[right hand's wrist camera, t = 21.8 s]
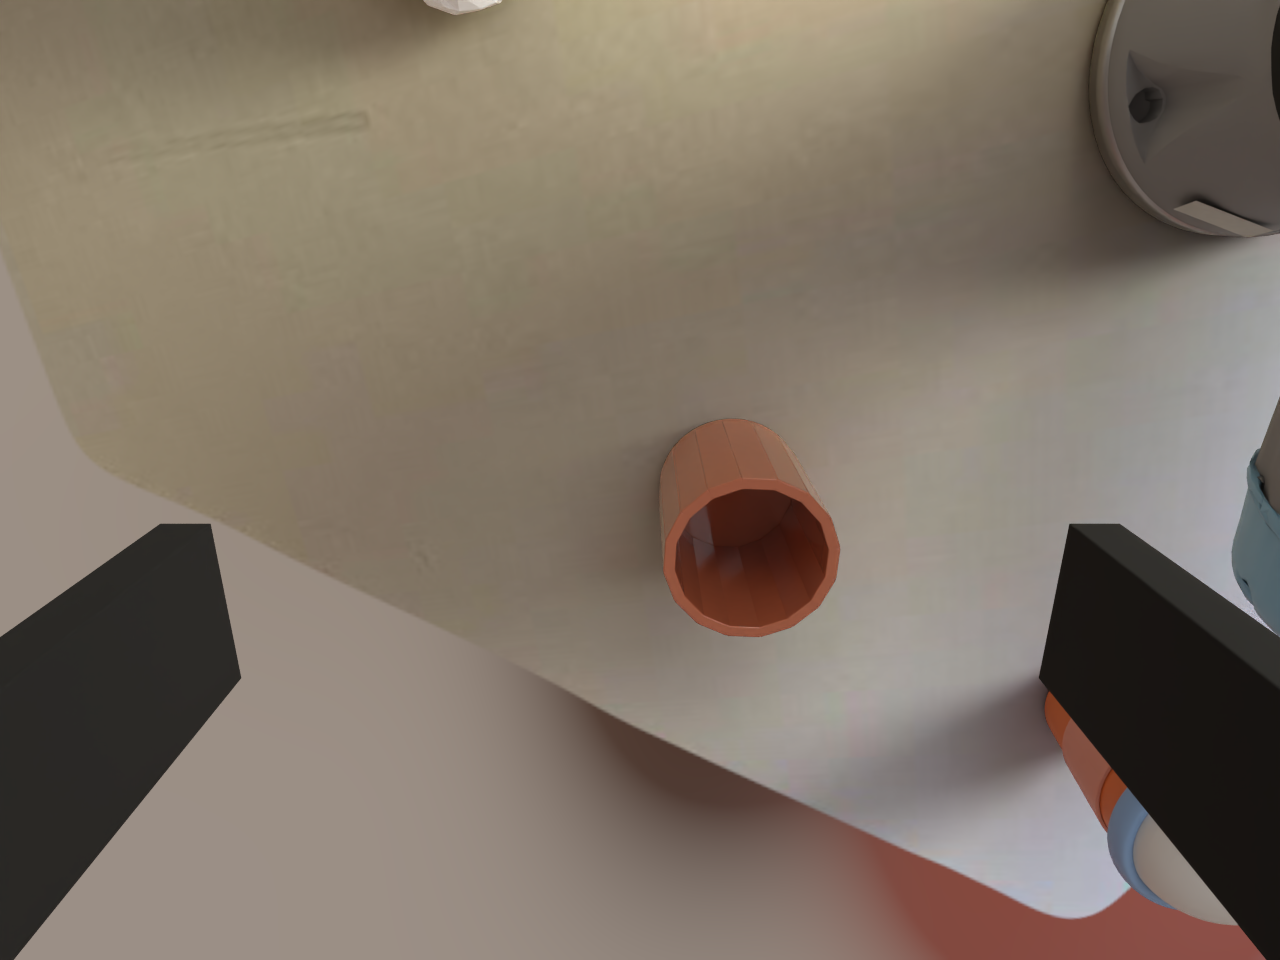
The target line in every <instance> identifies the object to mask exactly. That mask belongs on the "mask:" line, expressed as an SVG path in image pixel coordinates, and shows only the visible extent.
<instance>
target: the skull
mask: <svg viewBox="0 0 1280 960" xmlns="http://www.w3.org/2000/svg"><path fill="white" fill-rule="evenodd" d="M423 1H424V2H425V3H426V4H427V5H428V6H431V7H434V8H436V9H439V10H442V11H445V12H447V13H450V14H453V15H459V14H464V13H470V12H475V11H480V10H482V9H485V8H488V7H491V6H494V5H496V4H499V3H501V1H502V0H423Z"/></svg>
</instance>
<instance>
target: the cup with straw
mask: <svg viewBox="0 0 1280 960" xmlns="http://www.w3.org/2000/svg"><path fill="white" fill-rule="evenodd" d="M1045 717H1046V721H1047V723H1048V726H1049V728H1050V730H1051V731H1052V733H1053V735H1054V737H1055V738H1056V740H1057V742H1058V744H1059V745H1060V747H1061V749H1062V750H1063V756H1064V759H1065V762H1066V764H1067V766H1068V768H1069V769H1070V771H1071V773H1072V775H1073V776H1074V778H1075V780H1076V782H1077V783H1078V785H1079V787H1080V789H1081V790H1082V792H1083V794H1084V796H1085V797H1086V799H1087V801H1088V803H1089V804H1090V806H1091V808H1092V810H1093V811H1094V813H1095V815H1096V816H1097V818H1098V820H1099V822H1100V823H1101V825H1102V827H1103V828H1104V829H1105V831H1106V832H1107V840H1108V848H1109V852H1110V855H1111V858H1112V860H1113V863H1114V865H1115V867H1116V868H1117V870H1118V872H1119V873H1120V874H1121V876H1122V877H1123V878H1124V880H1125V881H1126V882H1127V883H1128V884H1129V885H1130V886H1131V887H1132V888H1133V889H1134V890H1136V891H1137V892H1138V893H1139V894H1141V895H1142V896H1144V897H1145V898H1147V899H1148V900H1150V901H1152V902H1154V903H1156V904H1159V905H1162V906H1164V907H1167V908H1171V909H1176V910H1180V911H1181V912H1184V913H1186V914H1188V915H1190V916H1193V917H1195V918H1198V919H1201V920H1204V921H1208V922H1213V923H1218V924H1226V925H1238V924H1237V923H1236V922H1235V920H1234V919H1233V918H1232V917H1231V915H1230V914H1229V913H1228V912H1227V910H1226V909H1225V908H1224V907H1223V905H1222V904H1221V903H1220V902H1219V900H1218V899H1217V898H1216V897H1215V896H1214V894H1213V893H1212V892H1211V891H1210V889H1209V888H1208V887H1207V886H1206V884H1205V883H1204V882H1203V881H1202V879H1201V878H1200V877H1199V876H1198V874H1197V873H1196V872H1195V871H1194V870H1193V868H1192V867H1191V866H1190V865H1189V863H1188V862H1187V861H1186V860H1185V858H1184V857H1183V856H1182V855H1181V853H1180V852H1179V851H1178V850H1177V848H1176V847H1175V846H1174V845H1173V844H1172V842H1171V841H1170V840H1169V839H1168V837H1167V836H1166V835H1165V834H1164V832H1163V831H1162V830H1161V829H1160V827H1159V826H1158V825H1157V824H1156V822H1155V821H1154V820H1153V819H1152V818H1151V816H1150V815H1149V814H1148V813H1147V811H1146V810H1145V809H1144V808H1143V806H1142V805H1141V804H1140V803H1139V801H1138V800H1137V799H1136V798H1135V796H1134V795H1133V794H1132V793H1131V792H1130V790H1129V789H1128V788H1127V787H1126V785H1125V784H1124V783H1123V782H1122V780H1121V779H1120V778H1119V777H1118V775H1117V774H1116V773H1115V772H1114V770H1113V769H1112V768H1111V767H1110V766H1109V764H1108V763H1107V762H1106V761H1105V759H1104V758H1103V757H1102V756H1101V754H1100V753H1099V752H1098V751H1097V749H1096V748H1095V747H1094V746H1093V744H1092V743H1091V742H1090V741H1089V740H1088V738H1087V737H1086V736H1085V735H1084V733H1083V732H1082V731H1081V730H1080V728H1079V727H1078V726H1077V725H1076V723H1075V722H1074V721H1073V720H1072V718H1071V717H1070V716H1069V715H1068V714H1067V712H1066V711H1065V710H1064V709H1063V707H1062V706H1061V705H1060V704H1059V702H1058V701H1057V700H1056V699H1055V697H1054V696H1053V695H1052V694H1051V693H1050V691H1049V692H1048V695H1047V698H1046V701H1045Z"/></svg>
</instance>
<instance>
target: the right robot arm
mask: <svg viewBox="0 0 1280 960" xmlns="http://www.w3.org/2000/svg"><path fill="white" fill-rule="evenodd" d="M1089 104H1090V113H1091V121H1092V126H1093V130H1094V135H1095V138H1096V142H1097V145H1098V148H1099V151H1100V153H1101V155H1102V158H1103V160H1104V162H1105V164H1106V167H1107V168H1108V170H1109V172H1110V173H1111V175H1112V177H1113V178H1114V180H1115V181H1116V183H1117V184H1118V185H1119V187H1120V188H1121V189H1122V190H1123V192H1124V193H1125V194H1126V195H1127V196H1128V197H1129V198H1130V199H1131V200H1132V201H1133V202H1134V203H1135V204H1136V205H1138V206H1139V207H1140V208H1141V209H1143V210H1144V211H1145V212H1147V213H1148V214H1150V215H1151V216H1153V217H1155V218H1156V219H1158V220H1160V221H1162V222H1164V223H1166V224H1168V225H1171V226H1173V227H1176V228H1179V229H1182V230H1185V231H1190V232H1195V233H1199V234H1208V235H1219V236H1230V237H1247V238H1249V237H1258V236H1267V235H1273V234H1278V233H1280V0H1108V2H1107V4H1106V6H1105V9H1104V12H1103V15H1102V18H1101V21H1100V24H1099V27H1098V30H1097V34H1096V38H1095V42H1094V47H1093V53H1092V59H1091V65H1090V77H1089ZM1247 482H1248V490H1247V494H1246V498H1245V502H1244V506H1243V510H1242V513H1241V517H1240V521H1239V524H1238V527H1237V531H1236V534H1235V537H1234V541H1233V546H1232V567H1233V571H1234V576H1235V578H1236V581H1237V583H1238V584H1239V586H1240V588H1241V590H1242V592H1243V594H1244V595H1245V597H1246V598H1247V600H1248V601H1249V602H1250V603H1251V604H1252V605H1253V606H1254V609H1255V611H1256V612H1257V614H1258V616H1259V617H1260V618H1261V619H1262V620H1263V621H1264V622H1265V623H1266V624H1267V626H1268V627H1269V628H1270V629H1271V630H1272V631H1273V632H1274V633H1273V632H1272V631H1270V630H1269V629H1267V628H1266V627H1265V626H1263V625H1262V624H1260V623H1259V622H1258V621H1256V620H1255V619H1253V618H1252V617H1251V616H1249V615H1248V614H1246V613H1245V612H1243V611H1242V610H1241V609H1239V608H1238V607H1236V606H1235V605H1234V604H1232V603H1231V602H1229V601H1228V600H1226V599H1225V598H1224V597H1222V596H1221V595H1219V594H1218V593H1217V592H1215V591H1214V590H1212V589H1211V588H1210V587H1208V586H1207V585H1205V584H1204V583H1202V582H1201V581H1200V580H1198V579H1197V578H1195V577H1194V576H1193V575H1191V574H1190V573H1188V572H1187V571H1186V570H1184V569H1183V568H1181V567H1180V566H1178V565H1177V564H1176V563H1174V562H1173V561H1171V560H1170V559H1169V558H1167V557H1166V556H1164V555H1163V554H1162V553H1160V552H1159V551H1157V550H1156V549H1154V548H1153V547H1152V546H1150V545H1149V544H1147V543H1146V542H1145V541H1143V540H1142V539H1140V538H1139V537H1137V536H1136V535H1135V534H1133V533H1132V532H1130V531H1129V530H1128V529H1126V528H1125V527H1123V526H1122V525H1121V524H1069V529H1068V534H1067V539H1066V544H1065V549H1064V554H1063V559H1062V564H1061V569H1060V574H1059V579H1058V584H1057V589H1056V594H1055V599H1054V604H1053V609H1052V614H1051V619H1050V624H1049V629H1048V634H1047V639H1046V644H1045V649H1044V655H1043V660H1042V665H1041V670H1040V675H1039V679H1040V680H1041V681H1042V683H1043V684H1044V685H1045V686H1046V688H1047V689H1048V690H1049V691H1050V693H1051V694H1052V695H1053V696H1054V697H1055V699H1056V700H1057V701H1058V702H1059V704H1060V705H1061V706H1062V707H1063V709H1064V710H1065V711H1066V712H1067V714H1068V715H1069V716H1070V717H1071V718H1072V720H1073V721H1074V722H1075V723H1076V725H1077V726H1078V727H1079V728H1080V730H1081V731H1082V732H1083V733H1084V735H1085V736H1086V737H1087V738H1088V740H1089V741H1090V742H1091V743H1092V744H1093V746H1094V747H1095V748H1096V749H1097V751H1098V752H1099V753H1100V754H1101V756H1102V757H1103V758H1104V759H1105V761H1106V762H1107V763H1108V764H1109V766H1110V767H1111V768H1112V769H1113V770H1114V772H1115V773H1116V774H1117V775H1118V777H1119V778H1120V779H1121V780H1122V782H1123V783H1124V784H1125V785H1126V787H1127V788H1128V789H1129V790H1130V792H1131V793H1132V794H1133V795H1134V796H1135V798H1136V799H1137V800H1138V801H1139V803H1140V804H1141V805H1142V806H1143V808H1144V809H1145V810H1146V811H1147V813H1148V814H1149V815H1150V816H1151V818H1152V819H1153V820H1154V821H1155V822H1156V824H1157V825H1158V826H1159V827H1160V829H1161V830H1162V831H1163V832H1164V834H1165V835H1166V836H1167V837H1168V839H1169V840H1170V841H1171V842H1172V844H1173V845H1174V846H1175V847H1176V848H1177V850H1178V851H1179V852H1180V853H1181V855H1182V856H1183V857H1184V858H1185V860H1186V861H1187V862H1188V863H1189V865H1190V866H1191V867H1192V868H1193V870H1194V871H1195V872H1196V873H1197V874H1198V876H1199V877H1200V878H1201V879H1202V881H1203V882H1204V883H1205V884H1206V886H1207V887H1208V888H1209V889H1210V891H1211V892H1212V893H1213V894H1214V896H1215V897H1216V898H1217V899H1218V900H1219V902H1220V903H1221V904H1222V905H1223V907H1224V908H1225V909H1226V910H1227V912H1228V913H1229V914H1230V915H1231V917H1232V918H1233V919H1234V920H1235V922H1236V923H1237V924H1238V925H1239V926H1240V928H1241V929H1242V930H1243V931H1244V933H1245V934H1246V935H1247V936H1248V938H1249V939H1250V940H1251V941H1252V943H1253V944H1254V945H1255V946H1256V947H1257V949H1258V950H1259V951H1260V952H1261V954H1262V955H1263V956H1264V957H1265V959H1266V960H1280V398H1279V400H1278V403H1277V406H1276V408H1275V411H1274V414H1273V417H1272V419H1271V422H1270V425H1269V427H1268V430H1267V433H1266V435H1265V438H1264V441H1263V443H1262V446H1261V448H1260V449H1257V450H1256V452H1255V453H1254V455H1253V457H1252V458H1251V461H1250V465H1249V467H1248V468H1247ZM1275 633H1276V634H1277V635H1278V636H1277V635H1276V634H1275ZM240 679H241V675H240V670H239V665H238V660H237V655H236V649H235V645H234V640H233V634H232V630H231V624H230V619H229V614H228V609H227V604H226V599H225V595H224V589H223V584H222V579H221V574H220V569H219V564H218V559H217V554H216V549H215V544H214V539H213V534H212V529H211V524H159V525H158V526H157V527H155V528H154V529H152V530H151V531H150V532H148V533H147V534H145V535H144V536H143V537H141V538H140V539H138V540H137V541H135V542H134V543H133V544H131V545H130V546H128V547H127V548H126V549H124V550H123V551H121V552H120V553H119V554H117V555H116V556H114V557H113V558H111V559H110V560H109V561H107V562H106V563H104V564H103V565H102V566H100V567H99V568H97V569H96V570H95V571H93V572H92V573H90V574H89V575H87V576H86V577H85V578H83V579H82V580H80V581H79V582H78V583H76V584H75V585H73V586H72V587H70V588H69V589H68V590H66V591H65V592H63V593H62V594H61V595H59V596H58V597H56V598H55V599H54V600H52V601H51V602H49V603H48V604H47V605H45V606H44V607H42V608H41V609H40V610H38V611H37V612H35V613H34V614H32V615H31V616H30V617H28V618H27V619H25V620H24V621H22V622H21V623H20V624H18V625H17V626H15V627H14V628H13V629H11V630H10V631H8V632H7V633H5V634H4V635H3V636H1V637H0V960H14V959H15V957H16V956H17V955H18V954H19V952H20V951H21V950H22V949H23V947H24V946H25V945H26V944H27V943H28V941H29V940H30V939H31V938H32V936H33V935H34V934H35V933H36V931H37V930H38V929H39V928H40V926H41V925H42V924H43V923H44V921H45V920H46V919H47V918H48V917H49V915H50V914H51V913H52V912H53V910H54V909H55V908H56V907H57V905H58V904H59V903H60V902H61V900H62V899H63V898H64V897H65V895H66V894H67V893H68V892H69V891H70V889H71V888H72V887H73V886H74V884H75V883H76V882H77V881H78V879H79V878H80V877H81V876H82V874H83V873H84V872H85V871H86V869H87V868H88V867H89V866H90V864H91V863H92V862H93V861H94V860H95V858H96V857H97V856H98V855H99V853H100V852H101V851H102V850H103V848H104V847H105V846H106V845H107V843H108V842H109V841H110V840H111V839H112V837H113V836H114V835H115V834H116V832H117V831H118V830H119V829H120V827H121V826H122V825H123V824H124V822H125V821H126V820H127V819H128V817H129V816H130V815H131V814H132V813H133V811H134V810H135V809H136V808H137V806H138V805H139V804H140V803H141V801H142V800H143V799H144V798H145V796H146V795H147V794H148V793H149V792H150V790H151V789H152V788H153V787H154V785H155V784H156V783H157V782H158V780H159V779H160V778H161V777H162V775H163V774H164V773H165V772H166V770H167V769H168V768H169V767H170V766H171V764H172V763H173V762H174V761H175V759H176V758H177V757H178V756H179V754H180V753H181V752H182V751H183V749H184V748H185V747H186V746H187V744H188V743H189V742H190V741H191V740H192V738H193V737H194V736H195V735H196V733H197V732H198V731H199V730H200V728H201V727H202V726H203V725H204V723H205V722H206V721H207V720H208V718H209V717H210V716H211V715H212V714H213V712H214V711H215V710H216V709H217V707H218V706H219V705H220V704H221V702H222V701H223V700H224V699H225V697H226V696H227V695H228V694H229V693H230V691H231V690H232V689H233V688H234V686H235V685H236V684H237V682H238V681H239V680H240Z"/></svg>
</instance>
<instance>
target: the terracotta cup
mask: <svg viewBox="0 0 1280 960" xmlns="http://www.w3.org/2000/svg"><path fill="white" fill-rule="evenodd" d="M659 509H660V525H661V542H662V559H663V572H664V576H665V578H666V581H667V583H668V586H669V588H670V591H671V593H672V596H673V599H674V600H675V602H676V603H677V604H678V605H679V606H680V607H681V608H682V609H683V610H684V611H685V612H686V613H687V614H688V615H689V616H690V617H691V618H692V619H693V620H694V621H695V622H696V623H698V624H700V625H702V626H705V627H707V628H710V629H712V630H715V631H717V632H719V633H722V634H724V635H728V636H747V637H760V636H761V637H762V636H765V635H769V634H772V633H775V632H778V631H781V630H785V629H788V628H791V627H792V626H795V625H796V624H797V623H798V622H800V621H801V620H802V619H804V618H805V617H806V616H808V615H809V614H810V613H812V612H813V611H814V610H816V609H817V608H818V607H819V606H820V605H821V603H822V601H823V600H824V598H825V596H826V595H827V593H828V592H829V590H830V588H831V587H832V585H833V583H834V582H835V580H836V576H837V569H838V562H839V555H840V544H839V541H838V538H837V534H836V531H835V528H834V525H833V521H832V518H831V517H830V515H829V513H828V511H827V510H826V508H825V506H824V504H823V503H822V501H821V499H820V497H819V496H818V494H817V492H816V490H815V489H814V487H813V485H812V484H811V482H810V480H809V478H808V477H807V475H806V473H805V471H804V470H803V468H802V466H801V464H800V463H799V461H798V459H797V457H796V456H795V454H794V453H793V452H792V451H791V449H790V448H789V447H788V445H787V444H786V443H785V441H784V440H783V439H782V438H781V437H779V436H778V435H777V434H776V433H775V432H773V431H772V430H770V429H769V428H767V427H765V426H763V425H761V424H758V423H755V422H752V421H748V420H743V419H722V420H716V421H712V422H709V423H706V424H704V425H701V426H699V427H697V428H695V429H694V430H692V431H690V432H689V433H687V434H686V435H685V436H684V437H682V438H681V439H680V440H679V441H678V442H677V443H676V445H675V446H674V447H673V448H672V450H671V451H670V453H669V454H668V456H667V458H666V460H665V462H664V465H663V467H662V471H661V475H660V483H659Z"/></svg>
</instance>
